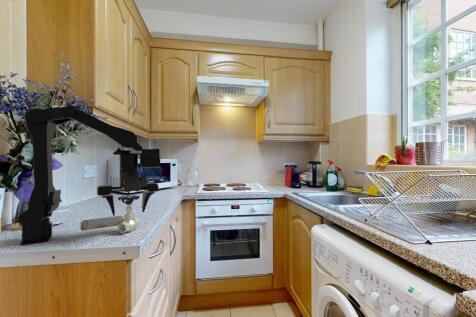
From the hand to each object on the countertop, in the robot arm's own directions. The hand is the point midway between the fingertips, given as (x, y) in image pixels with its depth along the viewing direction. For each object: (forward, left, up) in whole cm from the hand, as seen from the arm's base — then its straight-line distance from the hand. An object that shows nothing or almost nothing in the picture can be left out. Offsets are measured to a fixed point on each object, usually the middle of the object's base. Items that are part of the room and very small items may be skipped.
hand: (128, 213), depth 82 cm
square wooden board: (-6, +18, -6) cm, 20 cm away
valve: (0, 0, -6) cm, 6 cm away
